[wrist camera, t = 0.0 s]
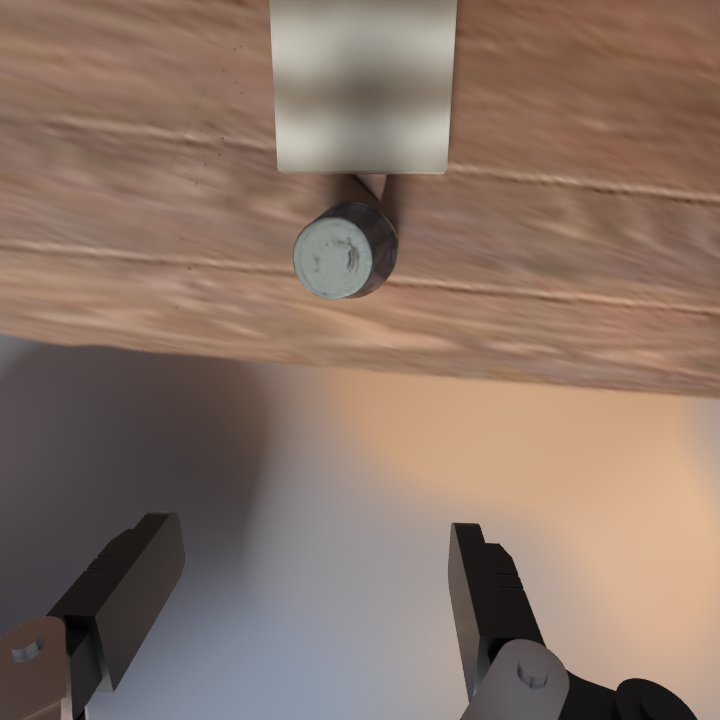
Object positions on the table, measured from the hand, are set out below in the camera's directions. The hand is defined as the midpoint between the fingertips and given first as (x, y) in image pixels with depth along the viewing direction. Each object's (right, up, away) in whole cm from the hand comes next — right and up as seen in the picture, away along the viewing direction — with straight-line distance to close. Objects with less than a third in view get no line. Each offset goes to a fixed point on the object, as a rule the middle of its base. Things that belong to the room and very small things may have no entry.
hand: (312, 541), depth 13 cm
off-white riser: (+2, +28, +24) cm, 37 cm away
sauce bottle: (+2, +16, +27) cm, 32 cm away
